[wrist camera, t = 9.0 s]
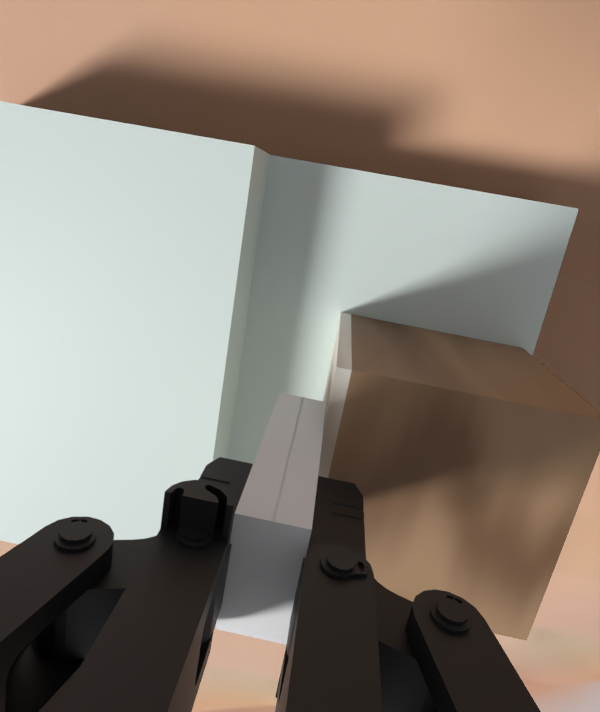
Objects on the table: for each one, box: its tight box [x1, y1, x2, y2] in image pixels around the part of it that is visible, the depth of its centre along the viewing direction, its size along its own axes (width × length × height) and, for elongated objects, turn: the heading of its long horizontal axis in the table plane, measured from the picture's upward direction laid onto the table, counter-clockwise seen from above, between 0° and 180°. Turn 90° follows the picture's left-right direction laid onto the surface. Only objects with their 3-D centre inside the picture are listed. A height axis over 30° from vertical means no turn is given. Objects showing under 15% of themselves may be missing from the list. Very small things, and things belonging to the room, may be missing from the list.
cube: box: [318, 312, 600, 640], centre depth 18 cm, size 7×7×7 cm
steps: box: [0, 101, 579, 544], centre depth 21 cm, size 16×23×6 cm
